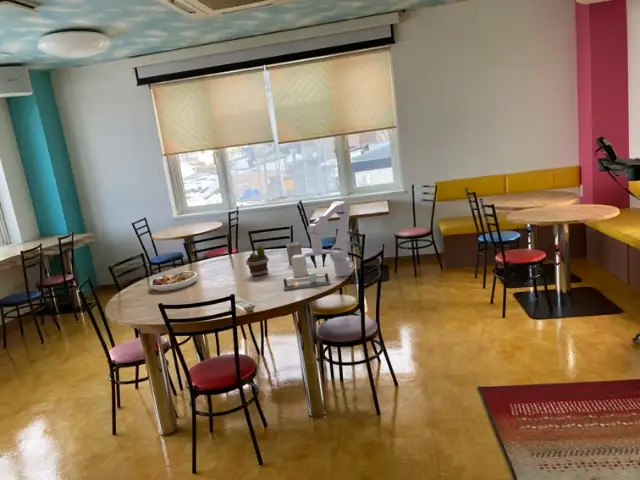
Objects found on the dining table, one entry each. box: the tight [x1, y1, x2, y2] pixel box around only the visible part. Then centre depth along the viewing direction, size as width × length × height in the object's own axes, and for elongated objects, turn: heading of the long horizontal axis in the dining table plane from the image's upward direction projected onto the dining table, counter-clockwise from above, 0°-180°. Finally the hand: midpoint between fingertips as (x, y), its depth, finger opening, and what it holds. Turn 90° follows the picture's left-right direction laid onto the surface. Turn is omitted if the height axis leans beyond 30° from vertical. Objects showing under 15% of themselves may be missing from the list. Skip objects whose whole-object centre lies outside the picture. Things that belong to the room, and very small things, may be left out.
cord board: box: [283, 272, 330, 292], centre depth 296 cm, size 26×10×6 cm, turn 89°
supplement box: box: [291, 253, 309, 279], centre depth 317 cm, size 7×7×13 cm
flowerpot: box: [245, 243, 270, 277], centre depth 333 cm, size 14×15×20 cm
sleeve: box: [307, 271, 318, 282], centre depth 295 cm, size 4×4×5 cm
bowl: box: [149, 270, 198, 292], centre depth 338 cm, size 30×30×8 cm
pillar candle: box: [285, 241, 303, 266], centre depth 349 cm, size 10×10×15 cm
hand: (319, 267), depth 294 cm, fingers open, 4 cm apart
